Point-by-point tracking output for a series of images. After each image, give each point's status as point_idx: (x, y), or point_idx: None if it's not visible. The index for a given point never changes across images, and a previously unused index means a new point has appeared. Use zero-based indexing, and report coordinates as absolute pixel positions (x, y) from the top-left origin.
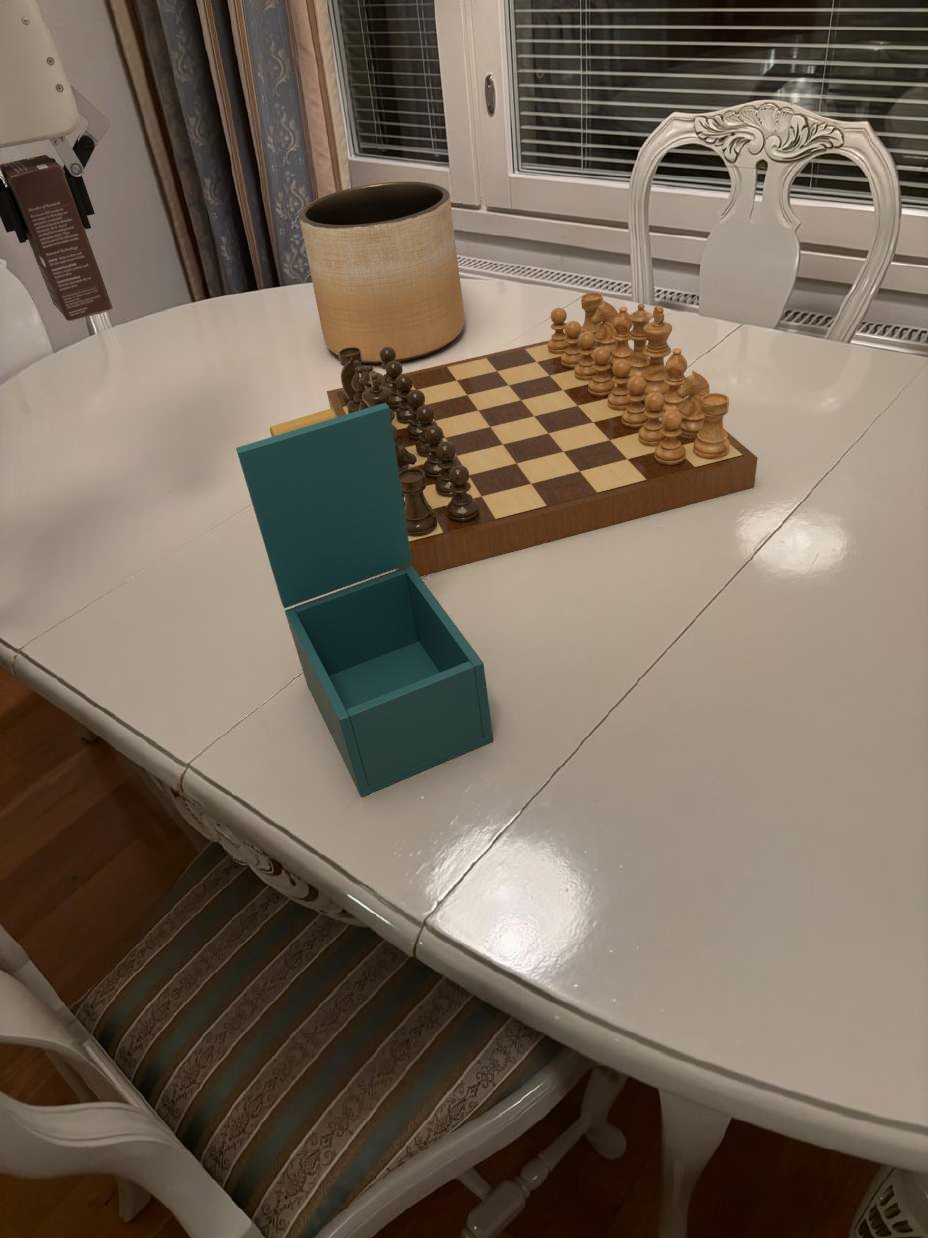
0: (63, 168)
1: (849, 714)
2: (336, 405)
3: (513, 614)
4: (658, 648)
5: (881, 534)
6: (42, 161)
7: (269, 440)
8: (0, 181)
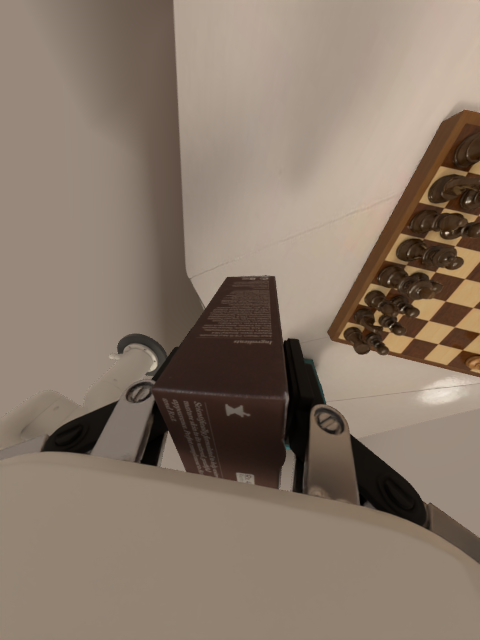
0: (295, 433)
1: (368, 426)
2: (441, 156)
3: (342, 366)
4: (359, 396)
5: (462, 405)
6: (255, 457)
7: (287, 448)
8: (167, 430)
